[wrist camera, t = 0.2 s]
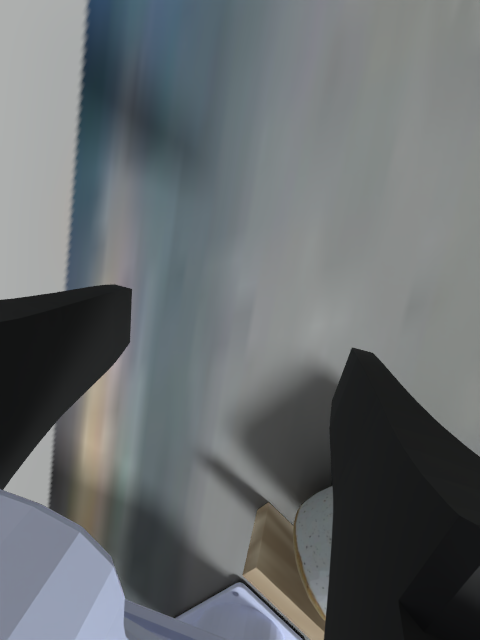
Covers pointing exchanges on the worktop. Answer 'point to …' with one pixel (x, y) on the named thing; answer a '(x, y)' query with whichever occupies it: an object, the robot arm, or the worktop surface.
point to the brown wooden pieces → (280, 571)
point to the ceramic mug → (315, 546)
